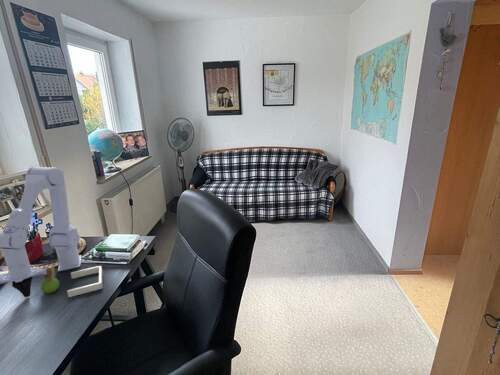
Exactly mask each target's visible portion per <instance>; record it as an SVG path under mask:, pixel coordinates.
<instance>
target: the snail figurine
mask: <svg viewBox="0 0 500 375" xmlns="http://www.w3.org/2000/svg"><path fill="white" fill-rule="evenodd" d="M50 267H51V268H49V266H43V267H41V268H42V269H47V274H46V275H44V274H42V275H41V277H42V279H44V280H43V281H42V282H41V285H40V289H41V291H42V292H43V293H45V294H52V293H54V292H56V291H57V290H58V289H59V287H60V281H59V280H58V278H56V277H55V276H56V268H55V264H51V265H50Z"/></svg>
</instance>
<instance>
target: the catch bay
mask: <svg viewBox="0 0 500 375" xmlns="http://www.w3.org/2000/svg"><path fill="white" fill-rule="evenodd" d="M97 273H98V282H95V283H92V284H91V283H90V284H88V285H84V286H79V287H75V288H72V289H68V290H67V291H66V292H67V296H68V297H67V298H72V297H75V296H78V295H83V294H87V293H90V292H94V291H98V290H102V289H103V268H102V265H98V266H97V265H96V266H92V267H87V268H83V269H80V270H75V271H71V272H70V277H71V279H72V280H73V279H77V278H80V277H81V278H82V277H84V276H89V275H93V274H97Z"/></svg>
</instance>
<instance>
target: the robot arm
mask: <svg viewBox="0 0 500 375" xmlns="http://www.w3.org/2000/svg"><path fill="white" fill-rule="evenodd" d="M24 180H25V182H26V183H25V184H26V185H25V187H24V190H23V192H22V196H21V199H20V202H19V205H18V207H17V208H15V209H12V211H11V213H9V216H8V219H7V221H6V223H5V226H4V228H3V230H2V231H1V232H0V253H2V254H3V257H4V261H5V263H6V267H7V270H8V273H7V274H5V275H1V276H0V285H1V284H6V283H9V282H11V283H12V284H11V287H12V288H14V289H16V290H17V291H19V292H20V294H21V295H22V296H23V297H24V298H28V297H30V296H31V294H32V292H31V288H32V287H31V286H32V282H33V281H32V280H33V278H34V277H37V276H43V275H42V274H44V275H46V274H47V269H42V268H43V267H33V268H32V267H31V263H30V261H29V257H28V253H27V249H26V246H25V244H26V243H27V242H28V230H27V229H28V227H29V225H30V222H31V220H32V219H33V213H32V210H31V209H32V208H33V206H34V204H35V202H36V201H37V198H38V197H39V194H40V193H41V191H43V190H46V189H48V191H49V198H50V205H51V212H52V221H53V222H52V223H53V227H51V229H49V232H48V233H49V235H48V244H49V245H50V247H53V249H55V251H56V256H57V260H58V268H57V272H63V271H67V270H72V269H76V268H80V267H81V263H82V255H81V254H79V251H78V245H79V242H80V234H79V233H78V229H77V228H76V227H75V226H74V225H73V224H71V222H70V221H71V220H70V213H69V204H68V194H67V186H66V181H65V175H64V171H63V170H61V169H60V168H59V167H56V166H54V167H48V166H47V167H46V166H35V165H34V166H30V167H29V168H28V169H27V171H26V175H24Z"/></svg>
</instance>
